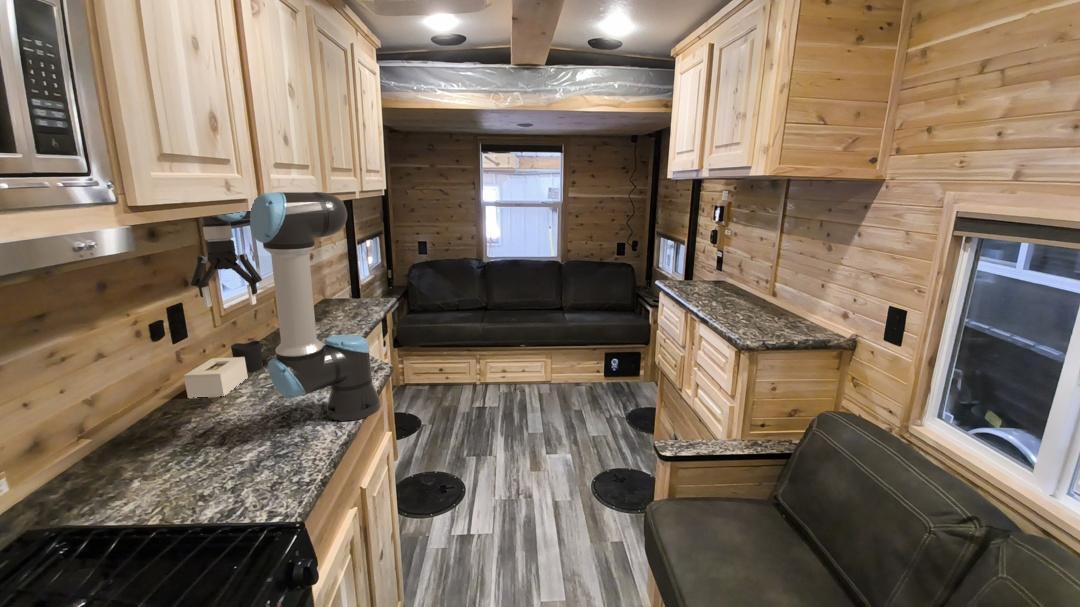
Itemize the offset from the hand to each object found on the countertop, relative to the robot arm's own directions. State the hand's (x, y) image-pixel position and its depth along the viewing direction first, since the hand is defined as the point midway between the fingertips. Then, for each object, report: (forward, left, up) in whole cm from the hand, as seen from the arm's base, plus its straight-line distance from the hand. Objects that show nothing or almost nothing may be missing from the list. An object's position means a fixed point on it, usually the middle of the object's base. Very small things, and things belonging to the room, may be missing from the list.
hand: (231, 305), depth 154 cm
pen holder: (+19, +7, -29) cm, 36 cm away
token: (+2, +9, -28) cm, 30 cm away
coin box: (+2, +9, -29) cm, 31 cm away
